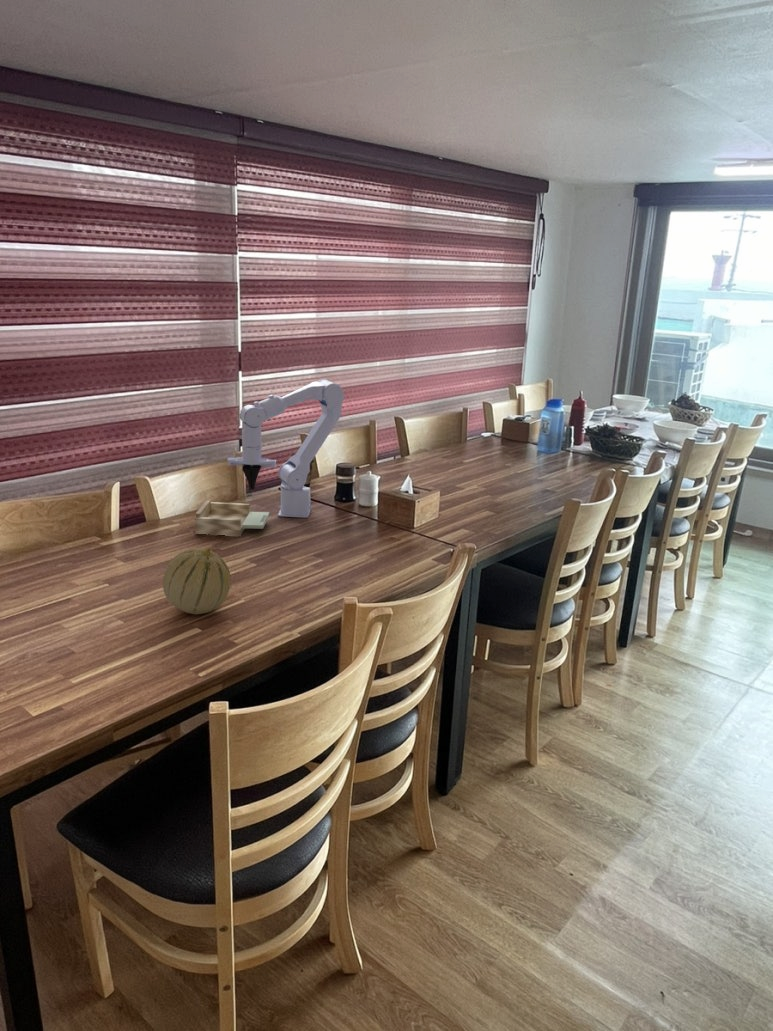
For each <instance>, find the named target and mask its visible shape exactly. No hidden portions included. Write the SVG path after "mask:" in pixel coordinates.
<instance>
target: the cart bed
mask: <svg viewBox="0 0 773 1031" xmlns="http://www.w3.org/2000/svg"><path fill="white" fill-rule="evenodd" d="M249 512H251V503H239V502H236V503H235V502H221V501H220V502H214V501H211V499H206V500H205V501H204V503H203V504H202V505H201V506H200V507H199V509H198V510H197V511H196V513H195V517H194V529H195V530H194V531H195V532H194V533H195V534H194V535H196V534H207V535H206V536H217V535H225V536H224V537H238V536H240V537H241V536H242V535H241V534H243V533H244V531H245V529H246V528H242V524H243V523H244V521H245V519H246V518H247V516H248V514H249ZM242 532H243V533H242ZM208 534H210V535H208Z"/></svg>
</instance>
